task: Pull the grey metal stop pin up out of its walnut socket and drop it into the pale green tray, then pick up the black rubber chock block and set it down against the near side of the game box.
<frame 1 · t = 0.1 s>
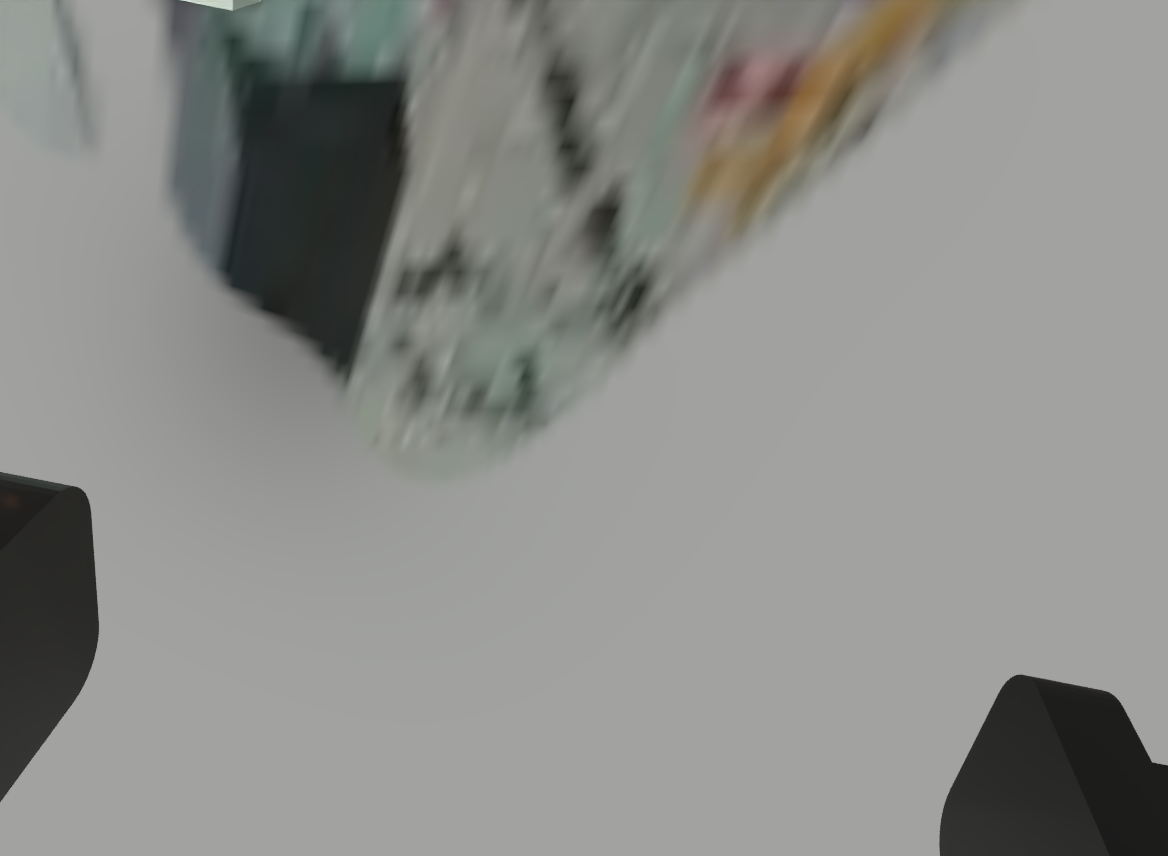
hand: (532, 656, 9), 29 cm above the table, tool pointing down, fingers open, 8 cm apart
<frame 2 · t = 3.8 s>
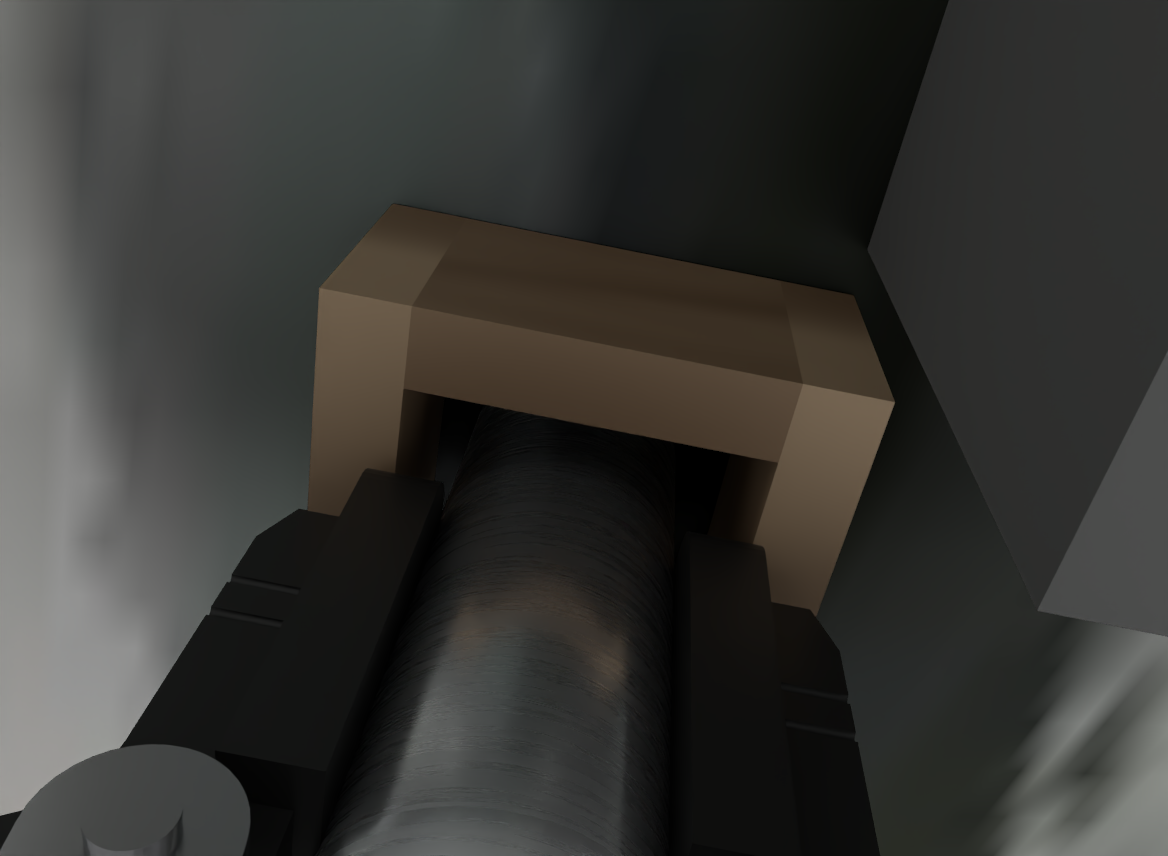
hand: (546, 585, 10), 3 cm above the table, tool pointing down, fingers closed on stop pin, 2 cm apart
pin socket: (583, 448, 12), on the table
stop pin: (502, 830, 7), in the pin socket, touching gripper
when the fingers open (5 cm above the table, at t = 8.4 s): stop pin drops 2 cm, resting on tray.
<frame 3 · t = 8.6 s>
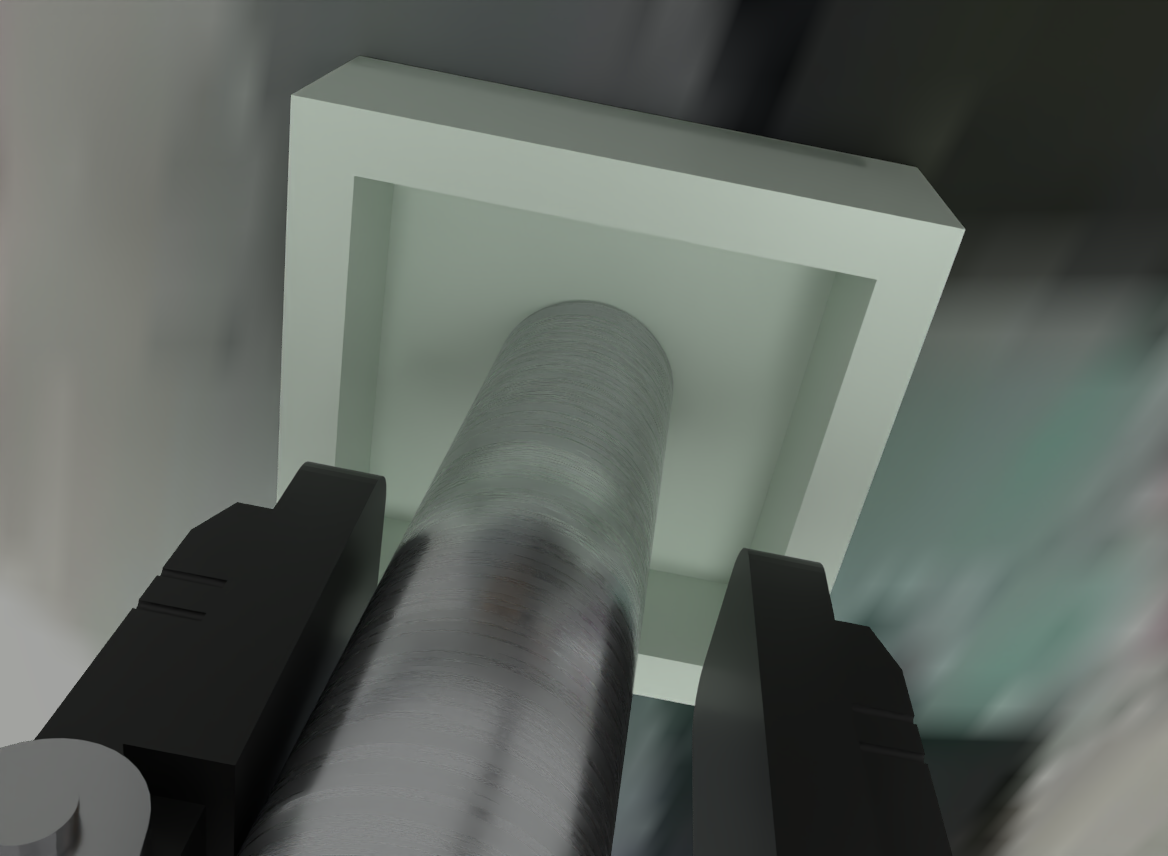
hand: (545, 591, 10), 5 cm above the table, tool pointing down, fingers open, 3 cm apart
tray: (588, 364, 14), on the table
stop pin: (498, 653, 9), in the tray, point 6 cm above the table, touching gripper
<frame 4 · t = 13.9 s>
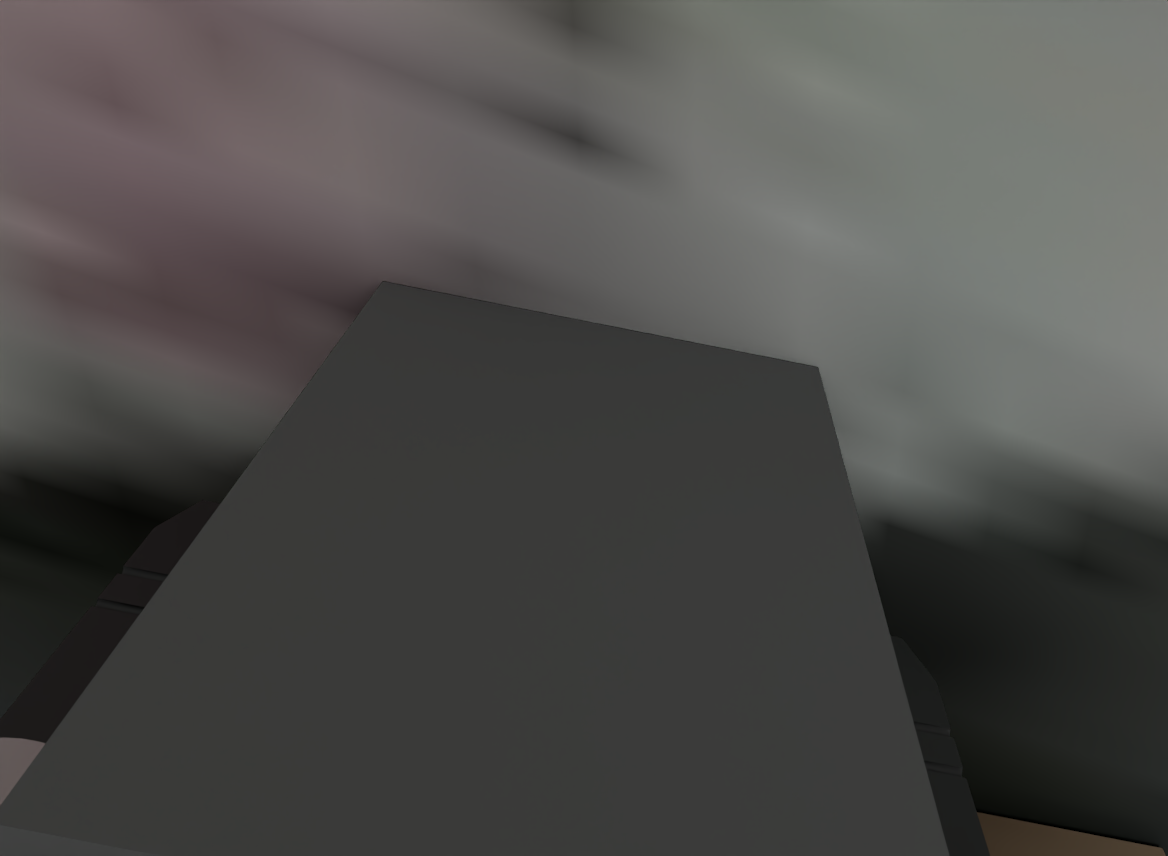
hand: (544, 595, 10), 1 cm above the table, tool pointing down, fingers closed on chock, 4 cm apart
chock: (556, 547, 10), on the table, touching gripper
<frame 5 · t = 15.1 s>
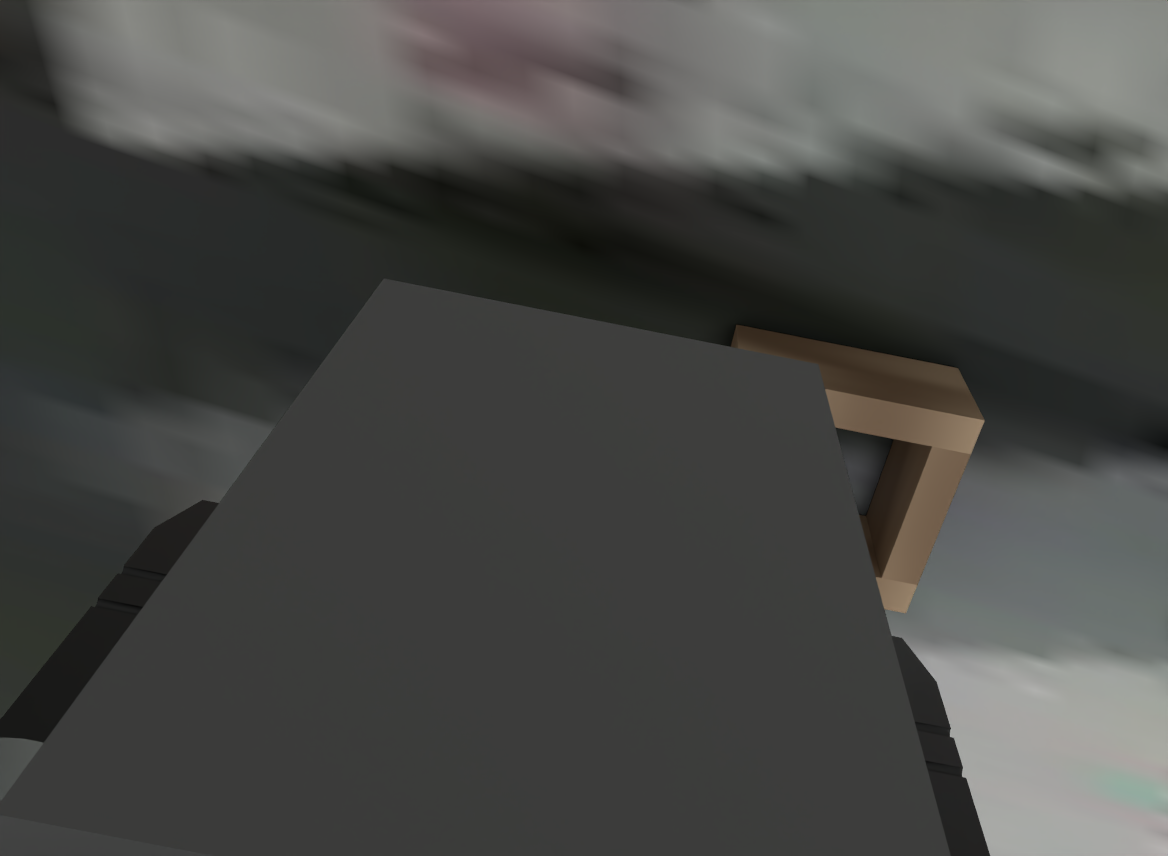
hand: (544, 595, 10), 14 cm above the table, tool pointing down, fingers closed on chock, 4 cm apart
chock: (557, 543, 11), point 13 cm above the table, touching gripper
pin socket: (816, 442, 24), on the table
when the fingers open (2 cm above the table, at t = 18.8 s): chock drops 1 cm, on the table.
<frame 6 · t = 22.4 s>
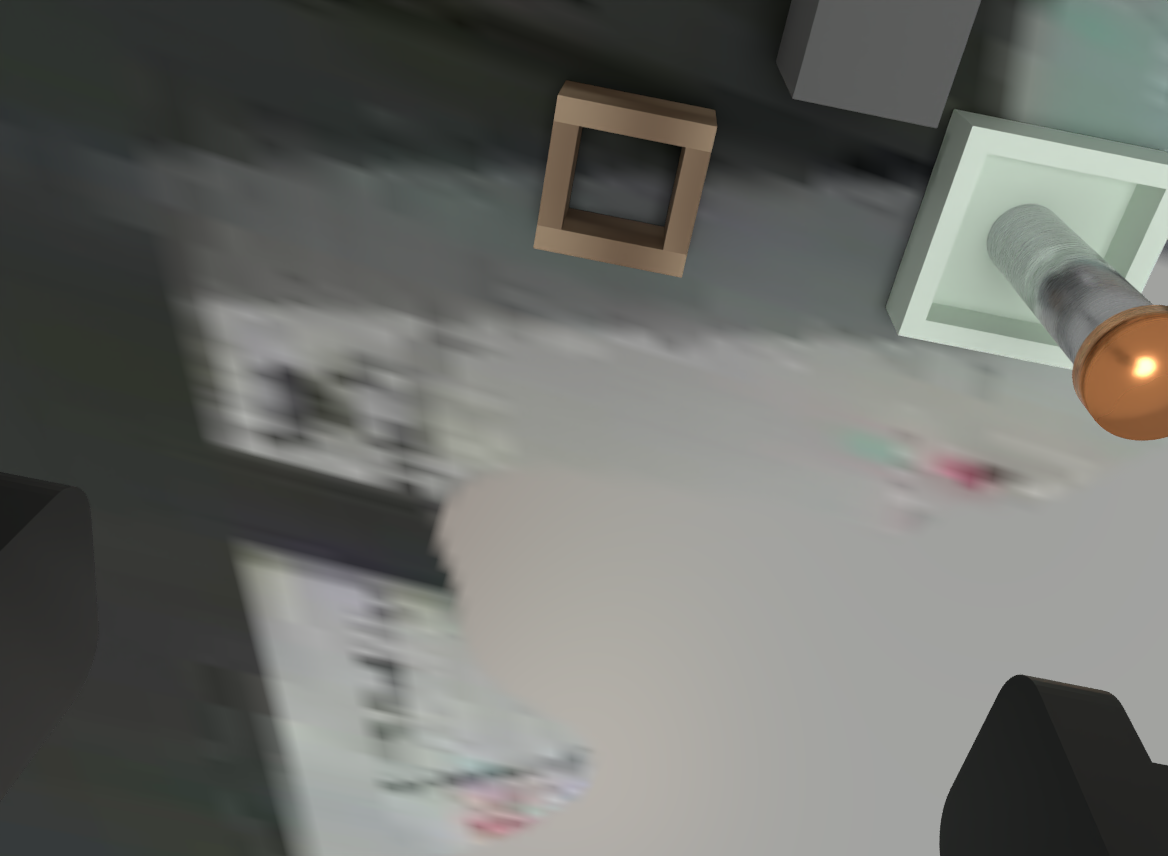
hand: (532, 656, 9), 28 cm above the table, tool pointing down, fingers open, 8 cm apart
tray: (1018, 233, 35), on the table
pin socket: (625, 169, 35), on the table
stop pin: (1079, 299, 30), in the tray, point 6 cm above the table
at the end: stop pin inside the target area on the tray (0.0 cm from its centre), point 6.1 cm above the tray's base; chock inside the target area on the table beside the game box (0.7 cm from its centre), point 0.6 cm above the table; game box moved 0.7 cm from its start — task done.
